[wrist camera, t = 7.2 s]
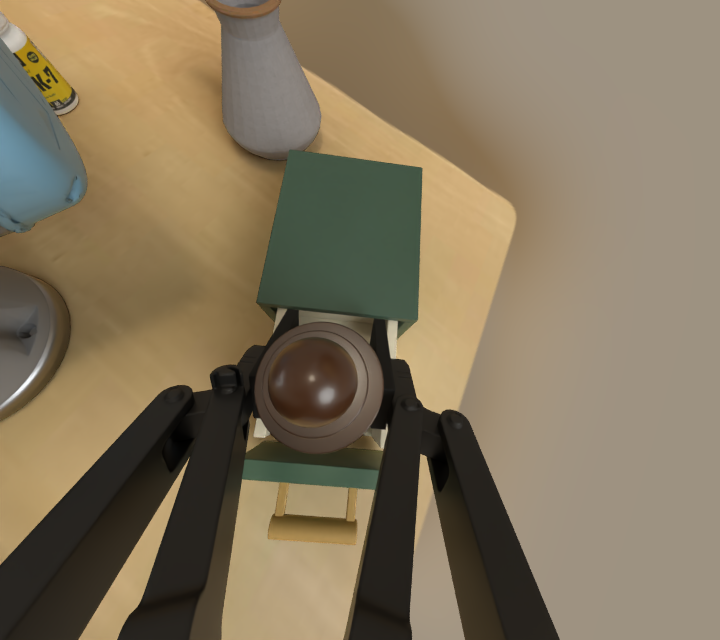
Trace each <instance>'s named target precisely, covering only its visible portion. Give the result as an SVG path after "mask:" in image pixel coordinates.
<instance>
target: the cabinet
mask: <svg viewBox="0 0 720 640" xmlns="http://www.w3.org/2000/svg"><path fill="white" fill-rule="evenodd" d="M421 198H422V168H421V167H414V166H406V165H399V164H392V163H385V162H377V161H370V160H363V159H356V158H348V157H341V156H334V155H327V154H319V153H312V152H305V151H298V150H291V149H290V150H289V154H288V159H287V163H286V168H285V173H284V177H283V182H282V186H281V191H280V196H279V200H278V205H277V209H276V214H275V219H274V223H273V228H272V232H271V237H270V241H269V246H268V251H267V255H266V260H265V264H264V269H263V274H262V278H261V283H260V287H259V292H258V297H257V301H256V303H257V304H258V305H259V306H260V307H261V308H262V309H263V310H264V311H265V312H266V313H267V314H268V316H269V317H270V318H271V319H272V320H273V321H274V322H275V320H276V315H277V309H278V308H284V309H293V310H302V311H312V312H321V313H330V314H339V315H348V316H357V317H366V318H375V319H385V320H394V321H398V327H397V339H398V338H399V337H400V336H401V335H402V334H403V333H404V332H405V331H406V330H407V329H409V328H410V327H411V326H412V325H413V324H414V323H415V322H416V321H417V320H418V297H419V264H420V231H421Z"/></svg>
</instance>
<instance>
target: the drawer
mask: <svg viewBox="0 0 720 640" xmlns="http://www.w3.org/2000/svg"><path fill="white" fill-rule="evenodd" d="M286 311H287V309H284V308H278V309H277V315H276V320H275V325H274V330H273V333H274V331H275V329H276V328H277V326H278V324H279V323H280V321H281V319H282V317H283V316H284V314H285V312H286ZM373 320H374V318H366V317H357V316H348V315H339V314H330V313H321V312H312V311H302V310H299V326H300V325H303V324H307V323H312V322H332V323H337V324H340V325H343V326H346V327H348V328H350V329H352V330H354V331H355V332H357V333H358V334H359V335H361V336H362V337H363V338H364V339H365V340H366V341H367V342H368V343H369V344H370V339H371V333H372V326H373ZM384 320H385V319H384ZM385 323H386V330H387V337H388V343H389V350H390V357H391V358H392V359H396V346H397V327H398V321H394V320H385ZM387 432H388V427H387V426H386V430H382V429H371V427H369V429H368V430H367V431H366V432H365V433H364V434H363V435H365V436H372V437H373V438H374V440H375V441H376V443H377V444H378V445H379V447H380V448H384V444H385V440H386V436H387ZM268 435H270V432H269V431H268V430H267V429H266V427H265V426H264V424H263V422H262V421H261V419H260V418H257V419H256V424H255V429H254V434H253V437H260V438H265V437H267V436H268ZM382 455H383V451H377V450H365V449H354V448H343V449H340V450H338V451H334V452H331V453H325V454H308V453H302V452H299V451H296V450H293V449H291V448H289V447H287V446H285V445H283V444H282V443H280V442H272V441H264V442H262V443H260V444H259V445H257V446H256V447H254V448H253V449H251V450H250V451H248V452H246V454H245V461H244V468H243V475H242V479H245V480H258V481H270V482H280V485H279V491H278V497H277V504H276V510H275V513H274V514H273V515H272V517H271V521H270V524H269V529H268V539H274V540H288V541H303V542H318V543H332V544H347V545H355V544H356V539H357V520H356V519H355V510H356V498H357V488H359V489H372V490H375V488H376V483H377V479H378V474H379V469H380V464H381V459H382ZM289 483H296V484H308V485H321V486H334V487H347V488H349V490H348V501H347V512H346V519H344V518H331V517H317V516H303V515H290V514H284V513H285V508H286V501H287V494H288V487H289Z"/></svg>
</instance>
